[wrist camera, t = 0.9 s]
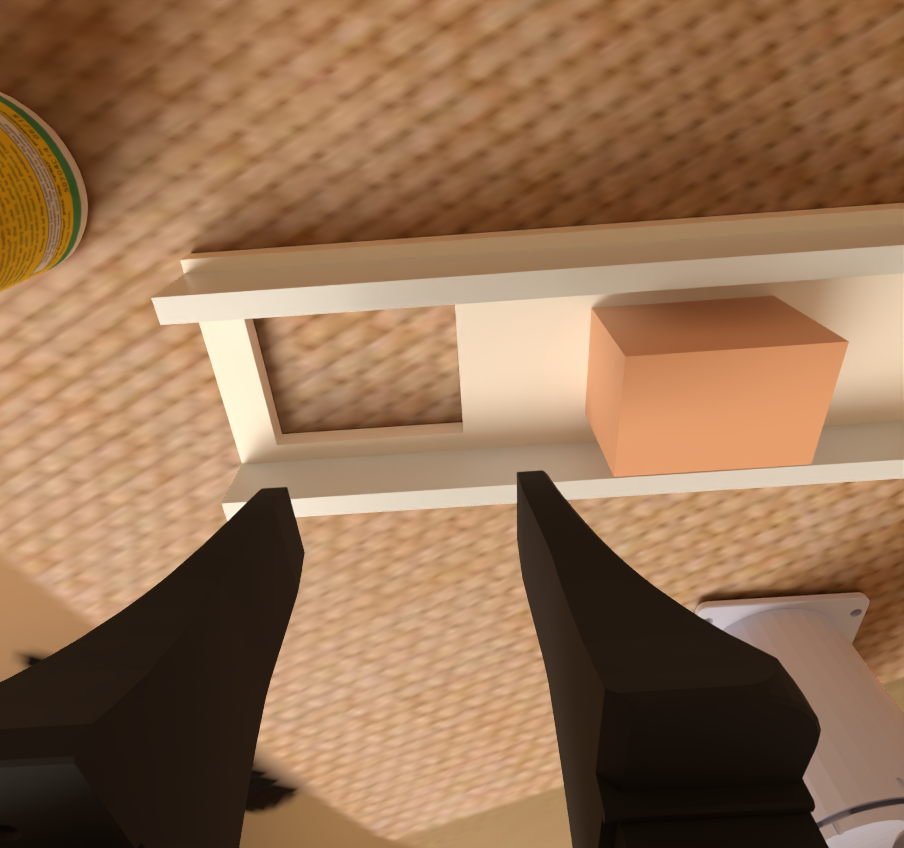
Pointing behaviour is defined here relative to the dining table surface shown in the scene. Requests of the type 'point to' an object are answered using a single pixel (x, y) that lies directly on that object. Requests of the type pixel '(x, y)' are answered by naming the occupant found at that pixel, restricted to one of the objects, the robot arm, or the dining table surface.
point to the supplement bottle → (36, 196)
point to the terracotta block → (709, 385)
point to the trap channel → (547, 349)
